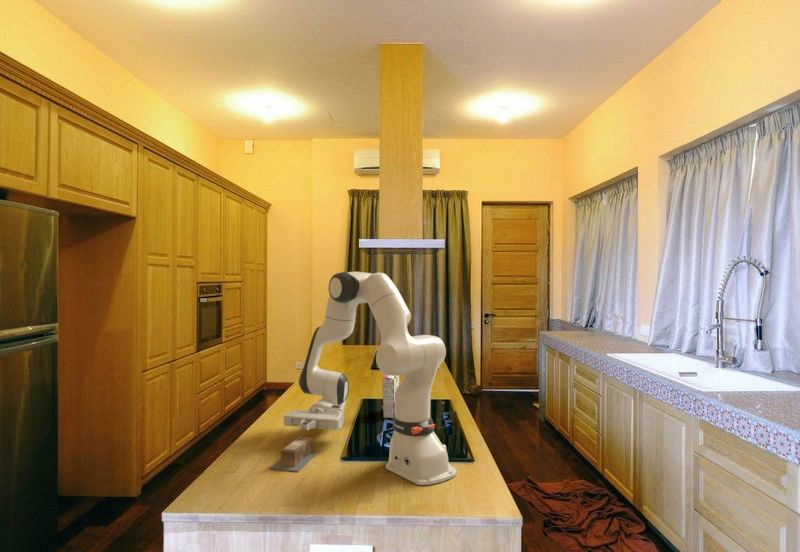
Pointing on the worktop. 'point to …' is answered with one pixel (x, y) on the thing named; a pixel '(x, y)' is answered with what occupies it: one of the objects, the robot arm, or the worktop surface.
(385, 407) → the candy bar box
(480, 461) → the worktop surface
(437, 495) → the worktop surface
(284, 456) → the block
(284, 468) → the mat
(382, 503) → the worktop surface
